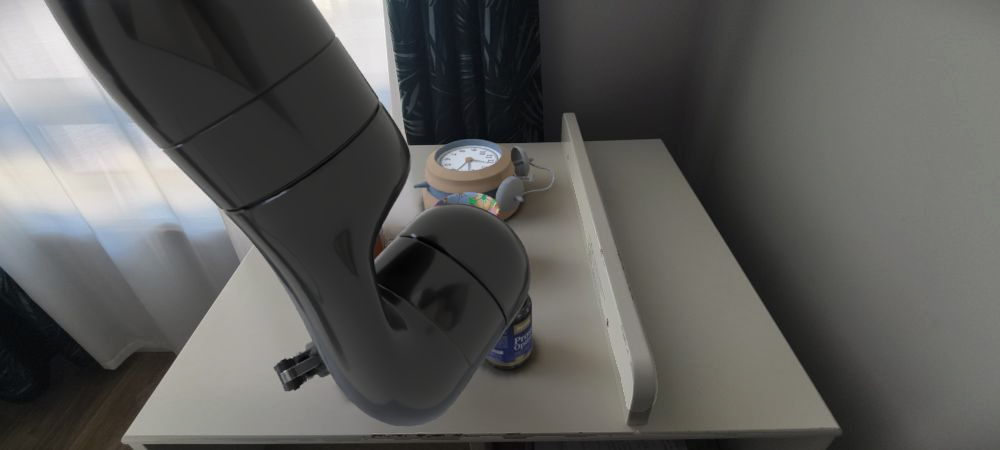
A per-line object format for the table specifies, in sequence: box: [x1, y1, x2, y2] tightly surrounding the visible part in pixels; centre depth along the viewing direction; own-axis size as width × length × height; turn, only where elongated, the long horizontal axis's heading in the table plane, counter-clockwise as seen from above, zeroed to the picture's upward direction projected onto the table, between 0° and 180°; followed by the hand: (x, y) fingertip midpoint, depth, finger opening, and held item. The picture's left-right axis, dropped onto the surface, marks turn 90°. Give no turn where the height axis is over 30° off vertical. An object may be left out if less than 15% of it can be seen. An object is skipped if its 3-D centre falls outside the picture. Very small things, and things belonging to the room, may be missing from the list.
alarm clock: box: [413, 138, 556, 221], centre depth 83 cm, size 17×9×23 cm
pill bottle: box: [484, 293, 533, 370], centre depth 56 cm, size 6×6×11 cm
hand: (346, 342), depth 52 cm, fingers open, 8 cm apart
